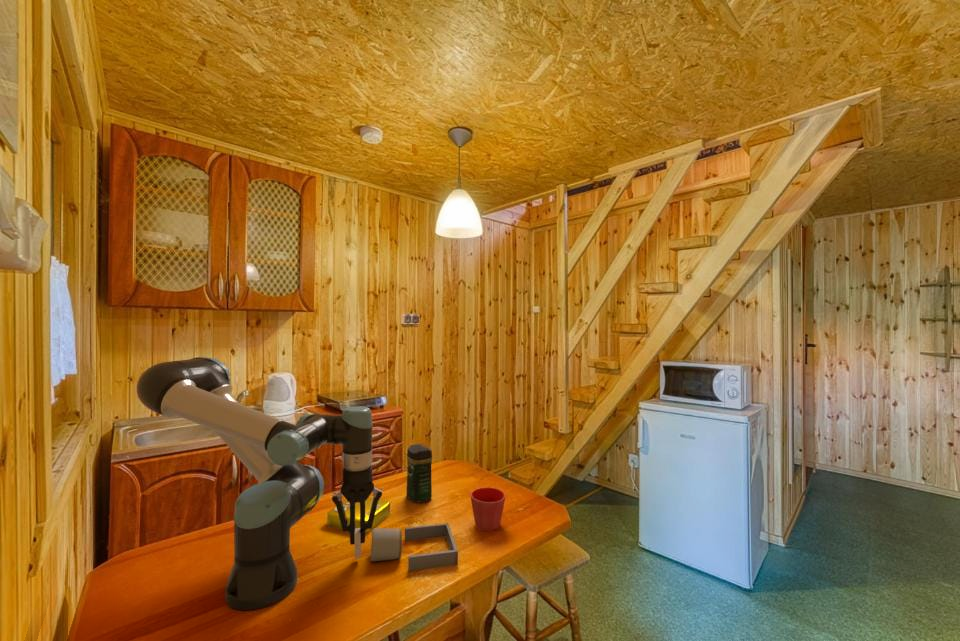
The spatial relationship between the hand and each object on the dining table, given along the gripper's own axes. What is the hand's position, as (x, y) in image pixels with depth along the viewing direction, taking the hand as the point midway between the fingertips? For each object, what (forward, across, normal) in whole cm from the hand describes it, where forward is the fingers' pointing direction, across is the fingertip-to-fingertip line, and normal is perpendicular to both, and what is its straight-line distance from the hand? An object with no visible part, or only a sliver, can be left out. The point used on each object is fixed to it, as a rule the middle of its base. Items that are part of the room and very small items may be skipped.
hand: (357, 555), depth 109 cm
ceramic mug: (+2, +7, +1) cm, 8 cm away
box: (+2, +19, 0) cm, 19 cm away
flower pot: (+2, +38, +11) cm, 40 cm away
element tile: (+2, -1, +23) cm, 23 cm away
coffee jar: (+2, +19, +35) cm, 40 cm away
